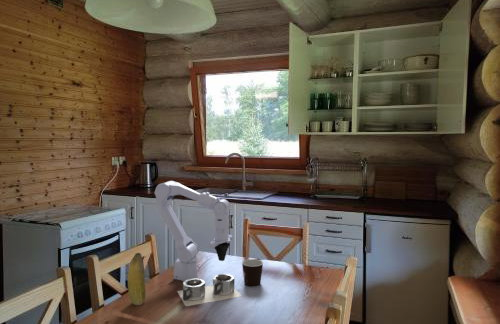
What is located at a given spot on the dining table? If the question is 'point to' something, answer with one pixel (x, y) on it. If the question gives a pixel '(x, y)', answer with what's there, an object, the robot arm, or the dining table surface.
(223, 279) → the cylinder
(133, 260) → the vegetable
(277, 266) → the dining table surface
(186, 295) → the near pot
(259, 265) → the coffee mug
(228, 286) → the far pot
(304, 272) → the dining table surface
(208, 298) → the serving board
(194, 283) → the near plunger
